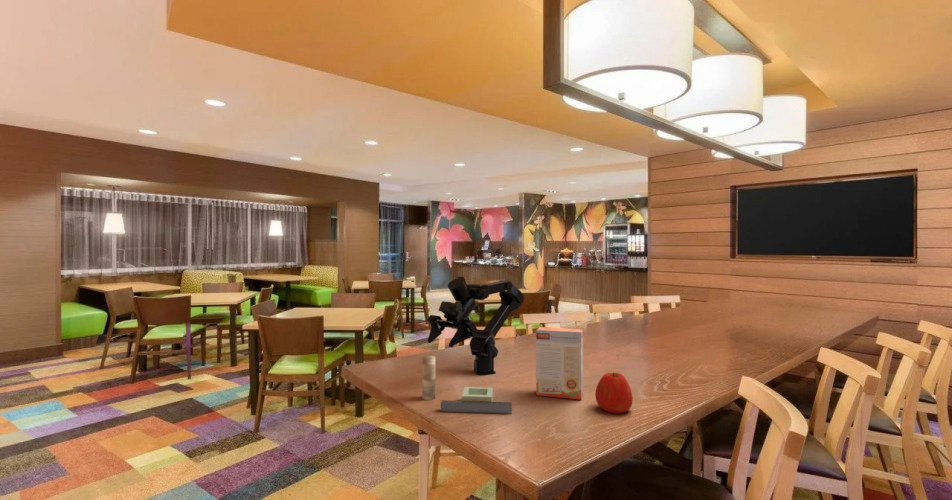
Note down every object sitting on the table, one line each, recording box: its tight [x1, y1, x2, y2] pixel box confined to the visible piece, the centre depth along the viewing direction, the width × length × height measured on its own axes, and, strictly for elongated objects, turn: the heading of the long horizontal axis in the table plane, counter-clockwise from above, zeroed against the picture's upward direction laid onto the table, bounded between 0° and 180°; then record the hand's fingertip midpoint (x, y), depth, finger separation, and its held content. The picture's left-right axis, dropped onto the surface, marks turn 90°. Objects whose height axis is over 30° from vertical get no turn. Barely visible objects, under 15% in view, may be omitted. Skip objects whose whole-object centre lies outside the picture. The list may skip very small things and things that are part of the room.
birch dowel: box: [421, 355, 436, 401], centre depth 134 cm, size 4×4×12 cm
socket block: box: [461, 386, 494, 402], centre depth 129 cm, size 9×9×4 cm
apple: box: [594, 372, 634, 414], centre depth 125 cm, size 10×10×10 cm
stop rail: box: [440, 399, 513, 415], centre depth 123 cm, size 2×20×2 cm, turn 85°
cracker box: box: [535, 326, 584, 401], centre depth 137 cm, size 14×6×21 cm, turn 71°
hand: (438, 344), depth 142 cm, fingers open, 9 cm apart
